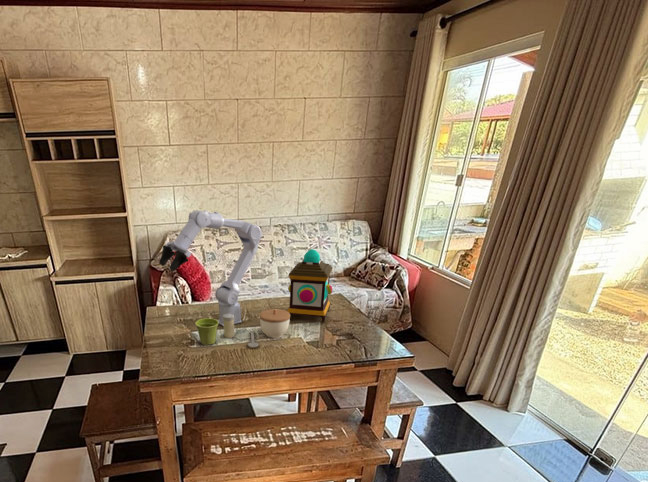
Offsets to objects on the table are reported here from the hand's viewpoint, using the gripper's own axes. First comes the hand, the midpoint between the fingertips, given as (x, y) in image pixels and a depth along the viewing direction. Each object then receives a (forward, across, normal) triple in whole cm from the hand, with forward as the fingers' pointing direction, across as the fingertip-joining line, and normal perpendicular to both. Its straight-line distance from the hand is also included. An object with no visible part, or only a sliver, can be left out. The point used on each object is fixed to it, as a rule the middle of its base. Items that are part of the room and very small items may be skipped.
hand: (166, 267), depth 158 cm
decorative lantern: (-23, +24, +63) cm, 71 cm away
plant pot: (+15, +16, +26) cm, 34 cm away
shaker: (+7, +17, +33) cm, 38 cm away
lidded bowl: (-4, +30, +43) cm, 52 cm away
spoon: (+4, +28, +35) cm, 45 cm away
